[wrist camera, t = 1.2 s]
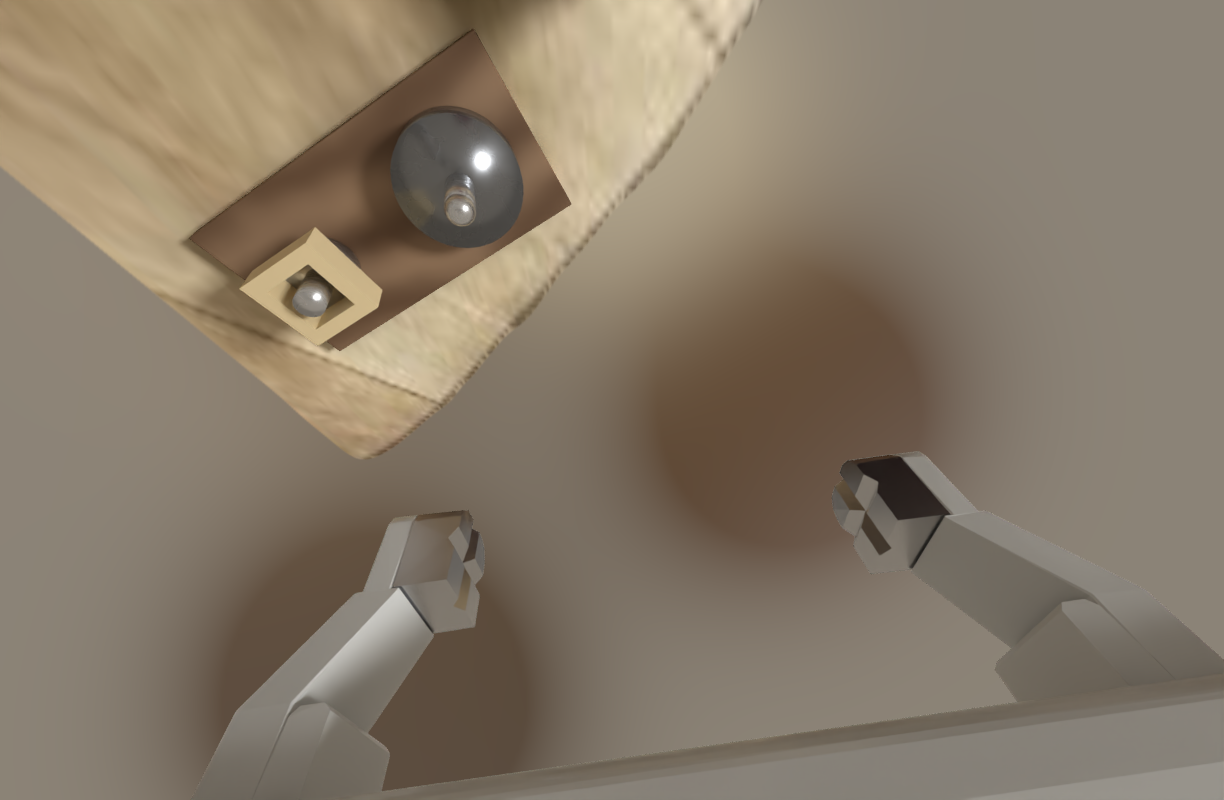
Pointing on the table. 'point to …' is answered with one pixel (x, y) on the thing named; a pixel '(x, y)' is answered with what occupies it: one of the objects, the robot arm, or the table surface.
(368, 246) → the base board
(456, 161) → the hub
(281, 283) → the collar
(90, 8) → the table surface
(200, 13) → the table surface
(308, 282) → the silver knob
